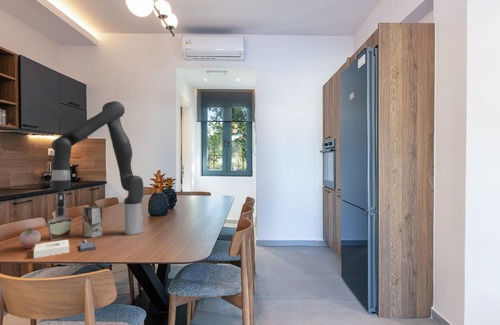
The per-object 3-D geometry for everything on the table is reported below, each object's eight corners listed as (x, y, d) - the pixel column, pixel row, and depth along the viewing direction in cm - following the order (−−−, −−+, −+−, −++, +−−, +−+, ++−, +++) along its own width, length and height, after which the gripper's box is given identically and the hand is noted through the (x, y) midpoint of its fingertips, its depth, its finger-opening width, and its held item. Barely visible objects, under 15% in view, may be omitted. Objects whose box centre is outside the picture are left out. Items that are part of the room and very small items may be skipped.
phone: (91, 239, 150) (91, 237, 150) (95, 249, 134) (95, 246, 134) (78, 241, 147) (78, 239, 147) (81, 251, 131) (81, 249, 131)
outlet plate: (68, 245, 141) (68, 239, 141) (69, 252, 130) (69, 245, 130) (35, 250, 134) (35, 244, 133) (33, 258, 123) (33, 251, 123)
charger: (65, 215, 140) (65, 201, 140) (65, 216, 136) (65, 201, 136) (55, 216, 137) (55, 201, 137) (55, 217, 134) (55, 202, 134)
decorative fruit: (42, 248, 136) (42, 228, 136) (20, 252, 131) (20, 231, 130) (39, 244, 143) (39, 224, 143) (18, 248, 137) (18, 227, 137)
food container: (67, 234, 163) (66, 216, 163) (72, 235, 160) (72, 217, 159) (42, 239, 152) (42, 221, 152) (48, 241, 149) (47, 222, 149)
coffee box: (103, 235, 160) (102, 206, 160) (92, 238, 154) (91, 208, 154) (92, 233, 164) (92, 205, 164) (81, 236, 159) (81, 207, 158)
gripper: (70, 179, 133) (70, 216, 133) (69, 178, 145) (69, 212, 145) (51, 180, 129) (50, 218, 129) (51, 178, 141) (51, 213, 141)
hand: (60, 214), depth 137 cm, fingers closed on charger, 4 cm apart
